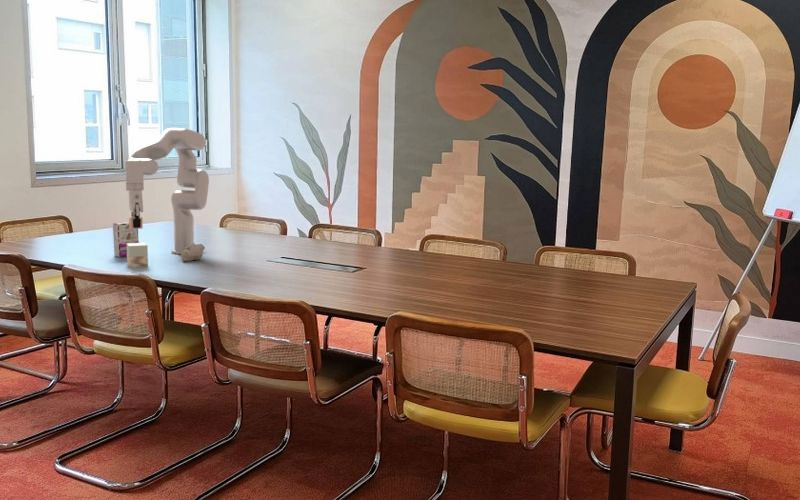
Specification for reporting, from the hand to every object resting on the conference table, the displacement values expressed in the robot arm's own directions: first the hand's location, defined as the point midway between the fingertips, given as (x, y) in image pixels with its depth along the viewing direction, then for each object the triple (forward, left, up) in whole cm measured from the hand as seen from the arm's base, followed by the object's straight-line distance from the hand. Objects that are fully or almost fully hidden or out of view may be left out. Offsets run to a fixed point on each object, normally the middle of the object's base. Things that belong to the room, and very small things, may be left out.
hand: (136, 226), depth 358 cm
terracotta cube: (0, 0, -1) cm, 1 cm away
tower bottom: (0, 0, -18) cm, 18 cm away
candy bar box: (+1, -28, -18) cm, 34 cm away
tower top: (0, 0, -13) cm, 13 cm away
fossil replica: (-26, -5, -18) cm, 32 cm away
